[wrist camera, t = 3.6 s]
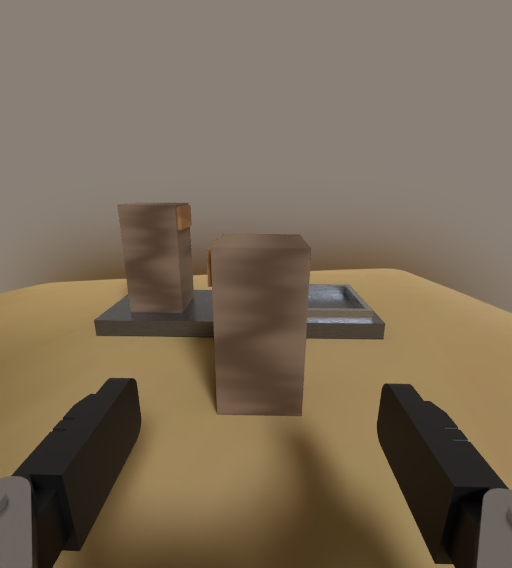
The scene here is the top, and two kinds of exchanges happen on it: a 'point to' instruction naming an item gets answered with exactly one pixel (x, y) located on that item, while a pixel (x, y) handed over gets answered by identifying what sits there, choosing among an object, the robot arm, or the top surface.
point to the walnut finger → (259, 322)
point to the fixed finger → (157, 255)
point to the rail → (199, 322)
